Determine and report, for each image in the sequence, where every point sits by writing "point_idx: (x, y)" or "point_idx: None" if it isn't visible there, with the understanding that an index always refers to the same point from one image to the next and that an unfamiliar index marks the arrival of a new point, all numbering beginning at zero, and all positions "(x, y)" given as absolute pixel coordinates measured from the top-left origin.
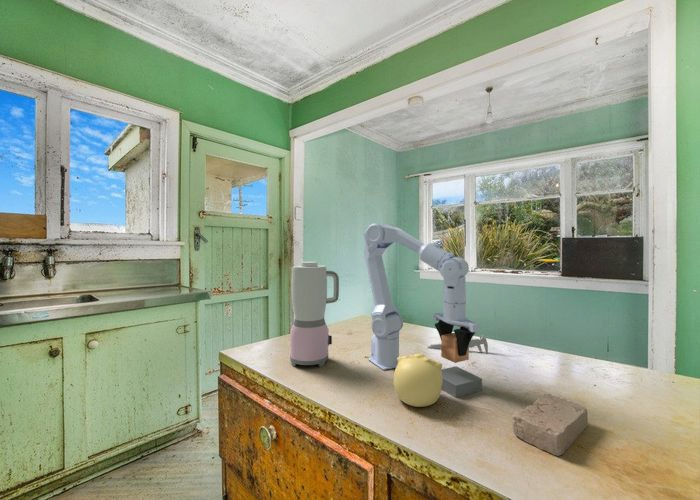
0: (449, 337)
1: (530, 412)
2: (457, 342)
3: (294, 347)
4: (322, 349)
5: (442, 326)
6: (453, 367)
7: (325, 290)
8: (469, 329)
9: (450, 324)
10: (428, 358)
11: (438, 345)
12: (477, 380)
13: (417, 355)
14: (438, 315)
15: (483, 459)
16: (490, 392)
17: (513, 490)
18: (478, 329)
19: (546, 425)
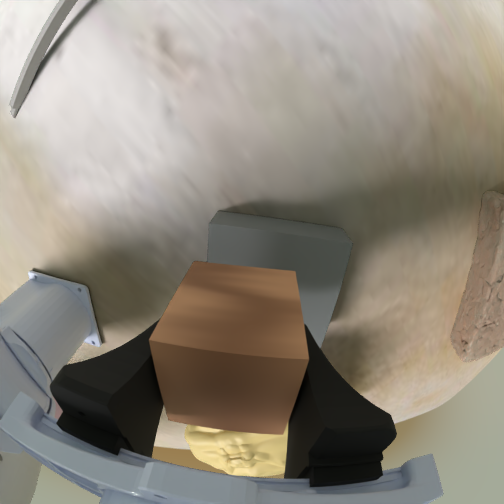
0: (227, 426)
1: (486, 326)
2: (290, 419)
3: None
4: (58, 414)
5: (146, 453)
6: (212, 244)
7: (2, 485)
8: (374, 480)
9: (125, 422)
10: (273, 460)
11: (23, 84)
12: (345, 265)
13: (243, 467)
14: (85, 489)
15: (420, 398)
16: (366, 219)
17: (448, 398)
18: (434, 464)
19: (500, 338)
